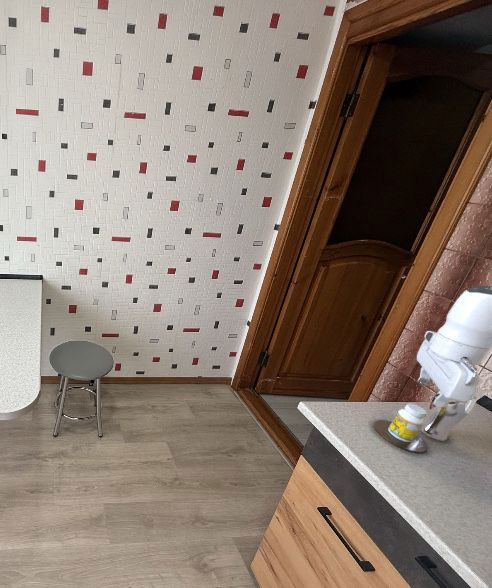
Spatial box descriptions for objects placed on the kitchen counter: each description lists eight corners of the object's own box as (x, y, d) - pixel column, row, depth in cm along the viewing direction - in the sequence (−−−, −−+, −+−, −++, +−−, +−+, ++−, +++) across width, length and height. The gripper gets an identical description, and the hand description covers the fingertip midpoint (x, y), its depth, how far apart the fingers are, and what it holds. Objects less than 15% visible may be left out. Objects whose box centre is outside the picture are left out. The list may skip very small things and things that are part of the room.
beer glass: (426, 438, 92) (455, 396, 86) (409, 420, 99) (435, 380, 92) (455, 445, 91) (487, 402, 85) (436, 426, 97) (465, 386, 91)
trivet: (417, 432, 94) (418, 430, 94) (432, 460, 85) (433, 458, 85) (369, 416, 99) (370, 414, 99) (379, 441, 90) (380, 439, 90)
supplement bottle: (416, 445, 89) (434, 418, 85) (391, 438, 91) (408, 411, 87) (407, 432, 93) (424, 405, 89) (384, 424, 95) (400, 398, 91)
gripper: (499, 375, 70) (465, 424, 76) (455, 335, 87) (429, 377, 93) (459, 365, 73) (428, 413, 79) (424, 328, 90) (400, 370, 95)
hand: (429, 394), depth 86 cm, fingers open, 8 cm apart
